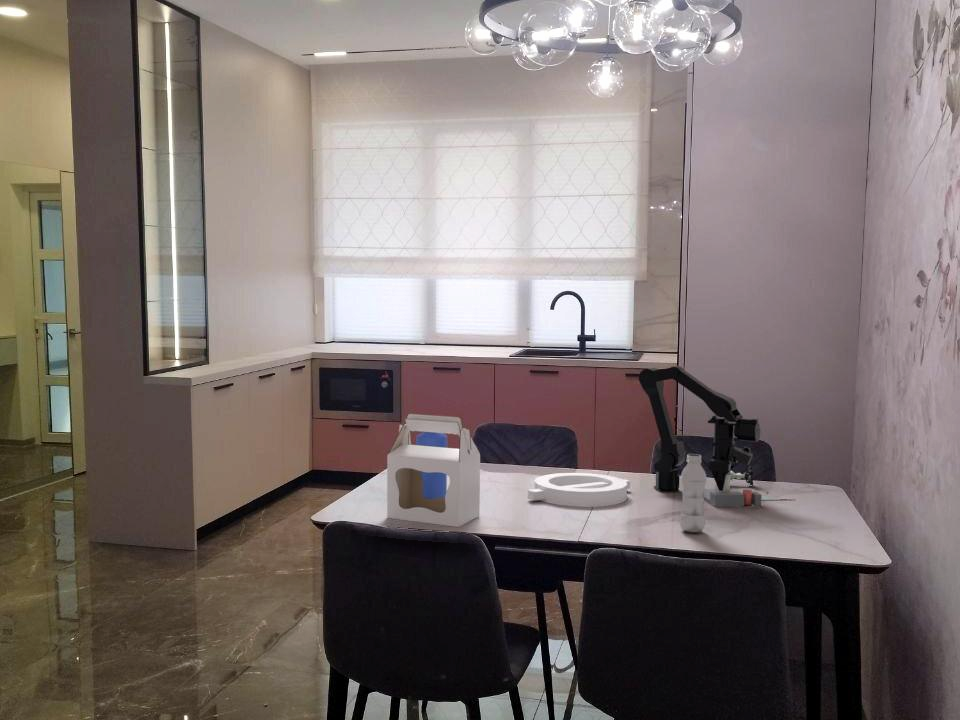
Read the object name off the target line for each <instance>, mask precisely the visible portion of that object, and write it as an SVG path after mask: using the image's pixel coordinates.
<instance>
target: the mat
mask: <svg viewBox="0 0 960 720" xmlns="http://www.w3.org/2000/svg"><path fill="white" fill-rule="evenodd" d="M761 501H781V500H780V499H779V498H773V497H771V498H768V497H767V496H761ZM786 501H790V500H789V499H787V500H786Z"/></svg>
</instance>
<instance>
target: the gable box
mask: <svg viewBox="0 0 960 720" xmlns="http://www.w3.org/2000/svg"><path fill="white" fill-rule="evenodd" d="M404 420H405V424H399V428H398V434H397V436H396V438H395V440H394V441H393V444H392V446H391V448H390V449H389V451H388V453H387V456H386V457H387V462H386V464H387V465H386V467H387V468H386V470H387V471H386V473H387V474H386V476H387V477H386V478H387V479H386V481H387V483H386V484H387V485H386V489H387V490H386V491H387V493H386V498H387V499H386V509H387V510H386V515H387V516H386V517H387V519H392V520H400V521H409V522H415V523H423V524H432V525H438V526H445V527H446V526H447V527H455V528H459V527H462V526H464V525H465V524H467V523H469V522H471V521H473V520H475V519H477V518H478V517H480V506H481V505H480V503H481V502H480V500H481V499H480V498H481V496H480V494H481V486H480V485H481V454H480V451H479V450H478V447H477V445H476V444H475V442H474V440H473V439H472V437H471V430H470V429H467V428H465V427H464V426H463V420H462V418H461V417H458V416H447V415H433V414H432V415H431V414H422V413H421V414H419V413H409V414H408V415H407V417H406V418H404ZM411 432H421V433H423V432H435V433H443V434H449V435H452V434H453V435H454V436H455V435H458V437H459V446H458V447H459V448H458V447H457V448H456V447H448V446H447V447H437V446H425V445H416V444H412V441H411ZM420 471H422V472H427V473H432V472H440V473H444V474H447V477H449V485H448V486H447V492H446V495H445V498H444V497H440V498H433V499H428V498H425V497H424V496H423V493H422V491H423V479H422V476H421V473H420Z"/></svg>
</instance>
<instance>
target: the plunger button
mask: <svg viewBox="0 0 960 720" xmlns="http://www.w3.org/2000/svg"><path fill="white" fill-rule="evenodd" d="M752 492H753V490H752V489H742V493H743V494H744V506H745V505H746V506H750V505H752Z"/></svg>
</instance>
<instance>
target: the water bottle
mask: <svg viewBox="0 0 960 720" xmlns="http://www.w3.org/2000/svg"><path fill="white" fill-rule="evenodd" d="M415 445H425V446H437V447H448V435H446V434H445V433H435V432H421V433H420V434H417V435H416V436H415ZM420 473H421V476H422V479H423V491H422V493H423V496H424V497H425V498H428V499H433V498H440V497H444V498H445V495H446V492H447V489H448V486H447V485H448V483H447V482H448V475H447V474H444V473H440V472H432V473H427V472H422V471H420Z"/></svg>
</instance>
